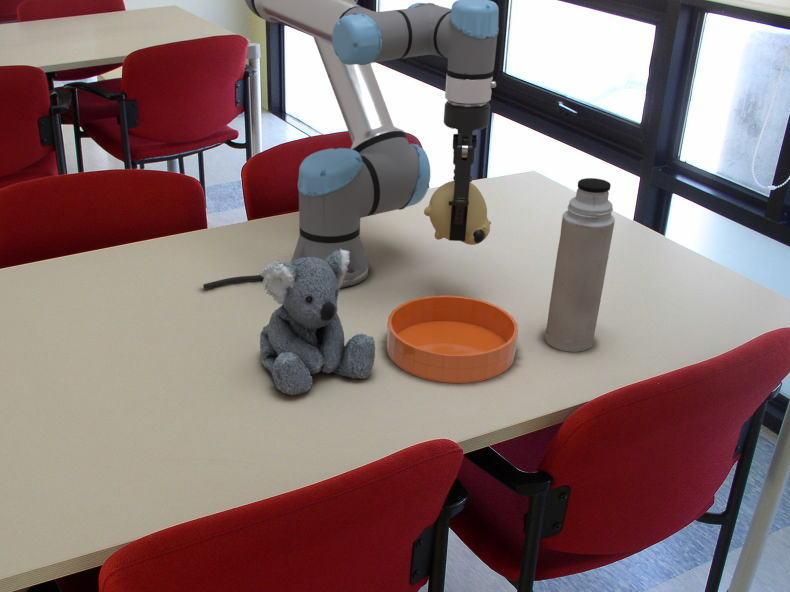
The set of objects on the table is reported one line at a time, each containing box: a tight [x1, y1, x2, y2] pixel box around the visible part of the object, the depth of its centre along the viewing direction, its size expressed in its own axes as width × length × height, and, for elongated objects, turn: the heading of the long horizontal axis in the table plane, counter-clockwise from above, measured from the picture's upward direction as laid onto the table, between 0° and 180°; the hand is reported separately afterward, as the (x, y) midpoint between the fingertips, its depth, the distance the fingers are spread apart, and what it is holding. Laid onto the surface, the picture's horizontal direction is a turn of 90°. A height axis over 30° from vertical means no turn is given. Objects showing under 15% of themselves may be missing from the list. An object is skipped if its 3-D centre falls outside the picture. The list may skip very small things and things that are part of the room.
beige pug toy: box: [423, 180, 492, 246], centre depth 159 cm, size 10×12×11 cm
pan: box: [386, 294, 519, 384], centre depth 150 cm, size 21×21×5 cm
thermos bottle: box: [544, 177, 616, 353], centre depth 147 cm, size 8×8×28 cm
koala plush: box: [259, 248, 376, 396], centre depth 142 cm, size 17×18×20 cm
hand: (457, 228), depth 161 cm, fingers closed on beige pug toy, 10 cm apart
